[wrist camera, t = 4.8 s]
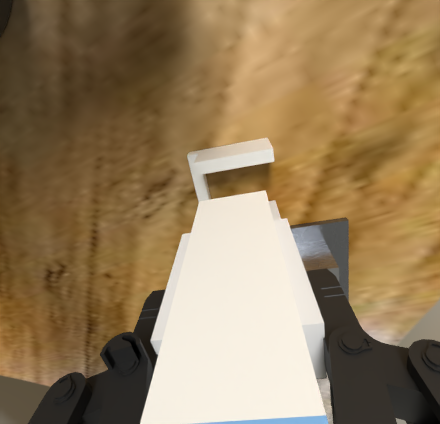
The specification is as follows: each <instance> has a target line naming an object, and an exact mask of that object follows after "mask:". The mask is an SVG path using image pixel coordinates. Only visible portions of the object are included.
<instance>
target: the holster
mask: <svg viewBox="0 0 440 424" xmlns="http://www.w3.org/2000/svg"><path fill="white" fill-rule="evenodd" d="M187 158H188V162H189V166H190V170H191V174H192V178H193V182H194V186H195V190H196V194H197V197H198V201H205V200H211V196H210V192H209V187H208V183H207V179H206V175H205V174H207V173H213V172H218V171H224V170H230V169H235V168H241V167H247V166H252V165H258V164H264V163H269V162H274V154H273V148H272V146H271V144H270V142H269V140H268V138H262V139H257V140H252V141H246V142H241V143H236V144H230V145H225V146H220V147H214V148H209V149H204V150H199V151H193V152H189V153H188V155H187ZM268 202H269V205H270V209H271V213H272V216H273V220H279V219H281V217H280V214H279V211H278V208H277V205H276V201H275V200H274V201H268Z"/></svg>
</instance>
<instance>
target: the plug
mask: <svg viewBox="0 0 440 424" xmlns="http://www.w3.org/2000/svg"><path fill="white" fill-rule="evenodd" d="M140 424H328V421H327V417H326V413H325V410H324V406H323V402H322V398H321V395H320V391H319V387H318V384H317V380H316V376H315V372H314V369H313V365H312V361H311V358H310V354H309V350H308V346H307V343H306V339H305V335H304V332H303V328H302V324H301V320H300V317H299V313H298V309H297V306H296V302H295V298H294V294H293V291H292V287H291V283H290V280H289V276H288V272H287V268H286V265H285V261H284V257H283V254H282V250H281V246H280V242H279V239H278V235H277V231H276V228H275V224H274V220H273V216H272V213H271V209H270V205H269V202H268V198H267V194H266V190H265V191H259V192H253V193H247V194H241V195H235V196H229V197H223V198H217V199H211V200H205V201H199V205H198V208H197V212H196V216H195V220H194V223H193V227H192V231H191V235H190V238H189V242H188V246H187V250H186V253H185V257H184V261H183V265H182V268H181V272H180V276H179V280H178V283H177V287H176V291H175V295H174V298H173V302H172V306H171V309H170V313H169V317H168V321H167V324H166V328H165V332H164V336H163V339H162V343H161V347H160V351H159V354H158V358H157V362H156V366H155V369H154V373H153V377H152V381H151V384H150V388H149V392H148V396H147V399H146V403H145V407H144V411H143V414H142V418H141V422H140Z"/></svg>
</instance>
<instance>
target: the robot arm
mask: <svg viewBox="0 0 440 424" xmlns="http://www.w3.org/2000/svg"><path fill="white" fill-rule="evenodd" d="M11 5H12V0H0V36H1V34H2V33H3V31H4V28H5V26H6V24H7V21H8V18H9V14H10V10H11ZM274 224H275V228H276V231H277V235H278V239H279V242H280V246H281V250H282V254H283V257H284V261H285V265H286V268H287V272H288V276H289V280H290V283H291V287H292V291H293V294H294V298H295V302H296V306H297V309H298V313H299V317H300V320H301V324H302V328H303V332H304V335H305V339H306V343H307V346H308V350H309V354H310V358H311V361H312V365H313V369H314V372H315V376H316V379H324V378H327V375H328V378H329V382H330V393H331V406H332V414H333V424H397V422H396V419H395V418H398V419H402V420H405V421H406V423H407V424H440V342H438V341H435V340H425V339H423V340H419V341H416V342H414V343H413V344H412V345H411V346H410V347H409V348H404V347H399V346H393V345H389V344H385V343H381V342H379V341H377V340H375V339H373V338H372V337H370V336H369V335H368V334H367V333H366V332H365V331H364V330H363V329H362V327H361V326H360V324H359V322H358V320H357V318H356V316H355V314H354V312H353V310H352V308H351V306H350V304H349V302H348V300H347V298H346V296H345V294H344V292H343V290H342V288H341V286H340V284H339V282H338V280H337V277H336V276H335V275H334V274H333V273H332V272H330V271H329V270H328V269H327V268H325V269H317V270H309V271H305V268H304V265H303V262H302V259H301V257H300V254H299V251H298V248H297V245H296V243H295V240H294V237H293V234H292V231H291V229H290V226H289V223H288V220H287V218H285V219H279V220H274ZM190 235H191V233H187V234H182V238H181V241H180V244H179V248H178V251H177V254H176V258H175V261H174V264H173V268H172V271H171V274H170V278H169V281H168V284H167V288H166V290H158V291H153V292H152V293H151V294H150V295H149V297H148V298H147V299H146V300H145V303H144V306H143V308H142V312H141V314H140V316H139V320H138V322H137V324H136V327H135V330H134V332H133V333H132V332H126V333H122V334H119V335H117V336H115V337H114V338H112V339H111V340H110V341H108V343H107V344H106V345H105V346H104V347H103V349H102V351H101V354H100V356H101V357H102V359H103V361H104V362H105V364H106V366H107V367H108V370H106V371H105V372H102V373H100V374H97V375H95V376H92V377H90V378H87V379H86V378H85V377H84V376H83V375H82V373H77V372H74V373H70V374H67V375H65V376H63V377H62V378H60V379H59V380H58V381H56V382H55V383H54V384H53V385H52V386H51V388H50V389H49V390H48V392H47V393H46V395H45V396H44V398H43V400H42V401H41V403H40V404H39V406H38V408H37V410H36V411H35V413H34V415H33V416H32V418H31V419H30V421H29V423H28V424H140V422H141V418H142V414H143V411H144V407H145V403H146V399H147V396H148V392H149V388H150V384H151V381H152V377H153V373H154V369H155V366H156V362H157V358H158V354H159V351H160V347H161V343H162V339H163V336H164V332H165V328H166V324H167V321H168V317H169V313H170V309H171V306H172V302H173V298H174V295H175V291H176V287H177V283H178V280H179V276H180V272H181V268H182V265H183V261H184V257H185V253H186V250H187V246H188V242H189V238H190ZM326 372H327V375H326Z"/></svg>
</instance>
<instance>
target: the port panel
mask: <svg viewBox="0 0 440 424" xmlns="http://www.w3.org/2000/svg"><path fill="white" fill-rule="evenodd" d="M290 229H291V231H292V234H293V237H294V240H295V243H296V245H297V248H298V251H299V254H300V257H301V259H302V262H303V265H304V268H305V271H309V270H317V269H325V268H327V269H328V270H329V271H330V272H332V273H333V274H334V275H335V276H336V277H337V280H338V282H339V284H340V286H341V288H342V290H343V292H344V294H345V296H346V298H347V300H348V219H347V218H340V219H333V220H326V221H319V222H313V223H306V224H299V225H292V226H290Z"/></svg>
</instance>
